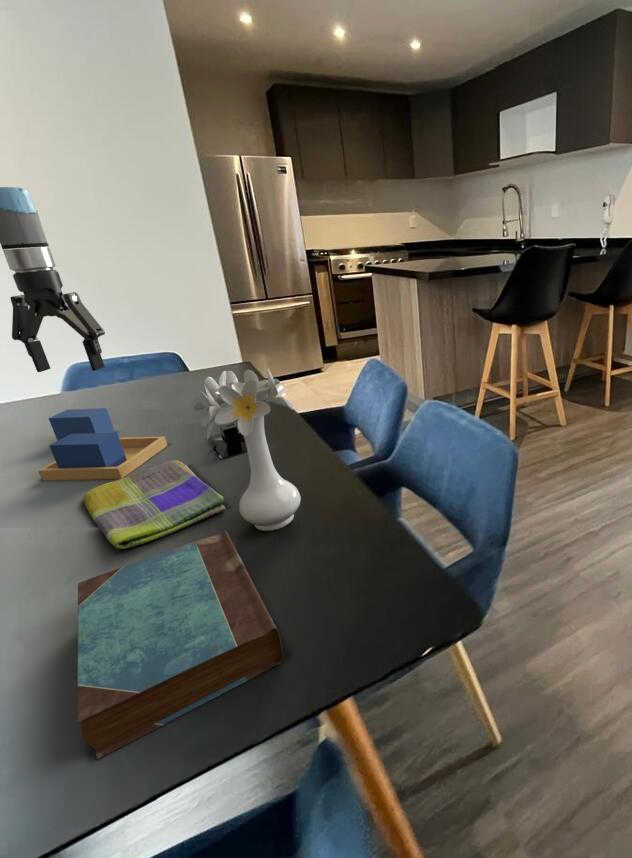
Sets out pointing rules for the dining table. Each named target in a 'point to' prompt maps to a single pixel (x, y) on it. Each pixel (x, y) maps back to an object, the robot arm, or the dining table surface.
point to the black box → (230, 441)
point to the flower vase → (252, 443)
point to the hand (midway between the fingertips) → (71, 369)
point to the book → (167, 639)
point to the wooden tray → (135, 454)
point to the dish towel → (151, 504)
